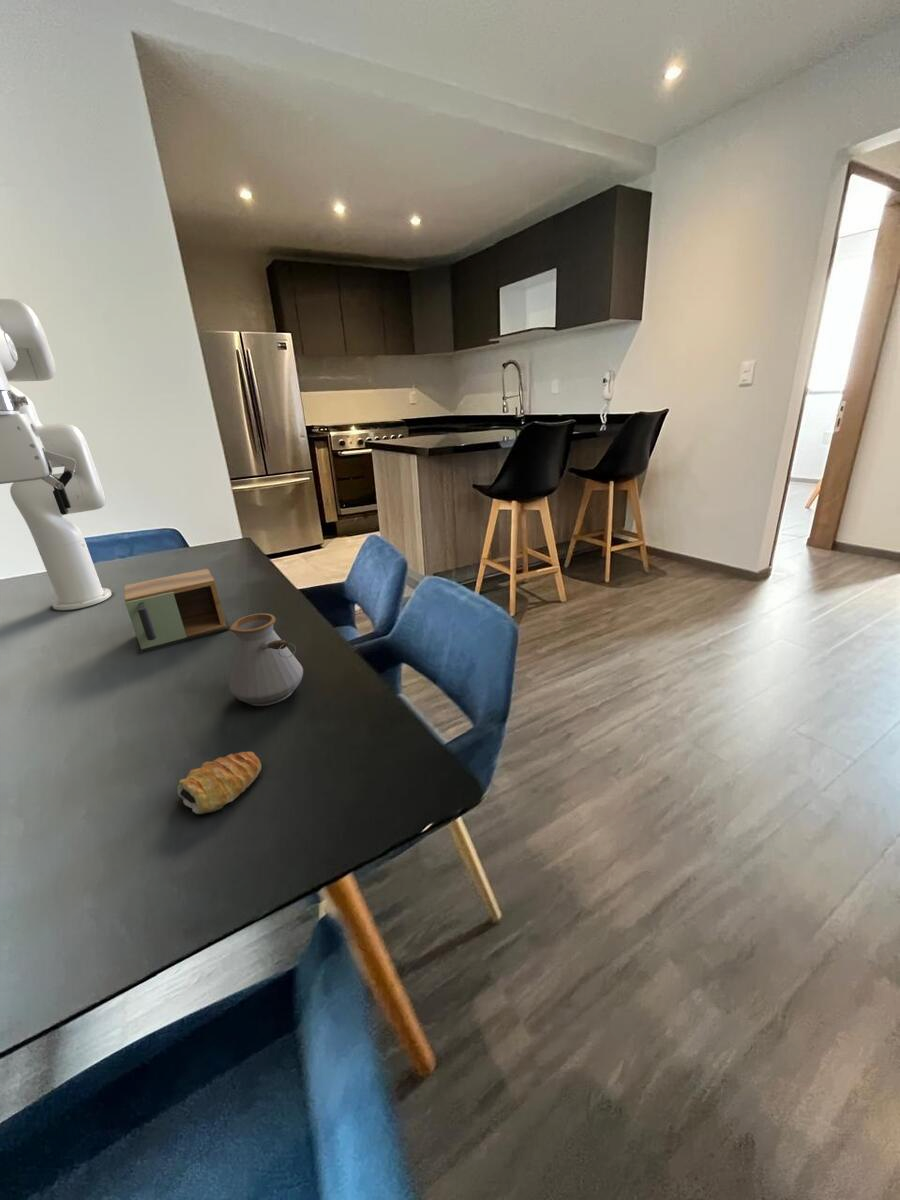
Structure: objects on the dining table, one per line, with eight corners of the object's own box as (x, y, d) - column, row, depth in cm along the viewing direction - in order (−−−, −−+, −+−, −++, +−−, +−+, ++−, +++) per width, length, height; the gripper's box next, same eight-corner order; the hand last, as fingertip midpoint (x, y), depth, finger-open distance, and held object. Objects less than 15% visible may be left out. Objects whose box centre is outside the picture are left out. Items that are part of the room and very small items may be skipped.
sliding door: (189, 645, 97) (175, 598, 93) (141, 658, 93) (125, 610, 90) (186, 636, 101) (173, 591, 97) (141, 648, 97) (125, 602, 93)
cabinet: (228, 630, 104) (215, 581, 100) (142, 652, 97) (124, 601, 93) (219, 613, 113) (207, 568, 109) (140, 632, 106) (124, 585, 101)
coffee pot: (224, 691, 82) (201, 609, 76) (291, 666, 88) (274, 589, 82) (266, 757, 66) (241, 659, 60) (344, 721, 72) (328, 630, 66)
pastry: (243, 755, 66) (237, 732, 65) (274, 774, 63) (268, 750, 61) (175, 801, 59) (166, 776, 58) (205, 825, 56) (197, 799, 54)
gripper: (58, 403, 81) (93, 506, 87) (-84, 410, 73) (-33, 524, 79) (51, 401, 75) (90, 512, 81) (-104, 409, 67) (-48, 532, 73)
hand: (29, 518), depth 80 cm, fingers open, 9 cm apart
